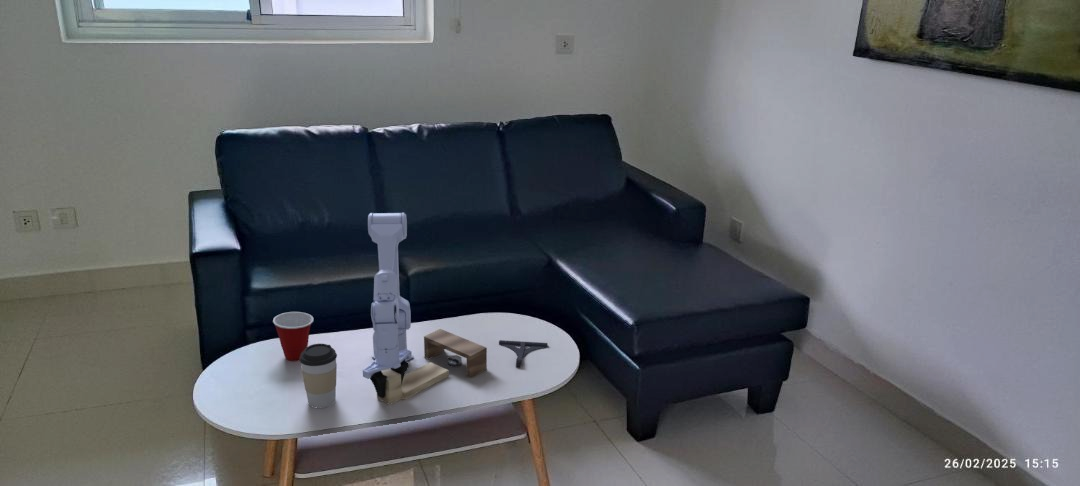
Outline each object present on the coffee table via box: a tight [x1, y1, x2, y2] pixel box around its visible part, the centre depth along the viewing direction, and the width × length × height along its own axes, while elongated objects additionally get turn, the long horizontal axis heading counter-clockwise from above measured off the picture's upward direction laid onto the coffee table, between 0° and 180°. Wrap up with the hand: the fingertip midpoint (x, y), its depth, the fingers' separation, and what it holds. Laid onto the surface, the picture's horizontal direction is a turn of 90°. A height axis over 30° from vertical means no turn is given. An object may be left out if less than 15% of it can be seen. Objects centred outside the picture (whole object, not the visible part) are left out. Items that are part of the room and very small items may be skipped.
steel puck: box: [447, 354, 463, 368], centre depth 208 cm, size 4×4×2 cm
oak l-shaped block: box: [376, 361, 449, 405], centre depth 196 cm, size 7×20×7 cm, turn 142°
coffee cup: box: [299, 343, 338, 409], centre depth 186 cm, size 9×9×15 cm
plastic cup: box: [272, 311, 314, 362], centre depth 208 cm, size 11×11×12 cm
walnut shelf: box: [423, 328, 488, 379], centre depth 208 cm, size 18×6×7 cm, turn 52°
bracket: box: [498, 339, 549, 369], centre depth 214 cm, size 14×15×3 cm
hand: (389, 392), depth 190 cm, fingers open, 5 cm apart
